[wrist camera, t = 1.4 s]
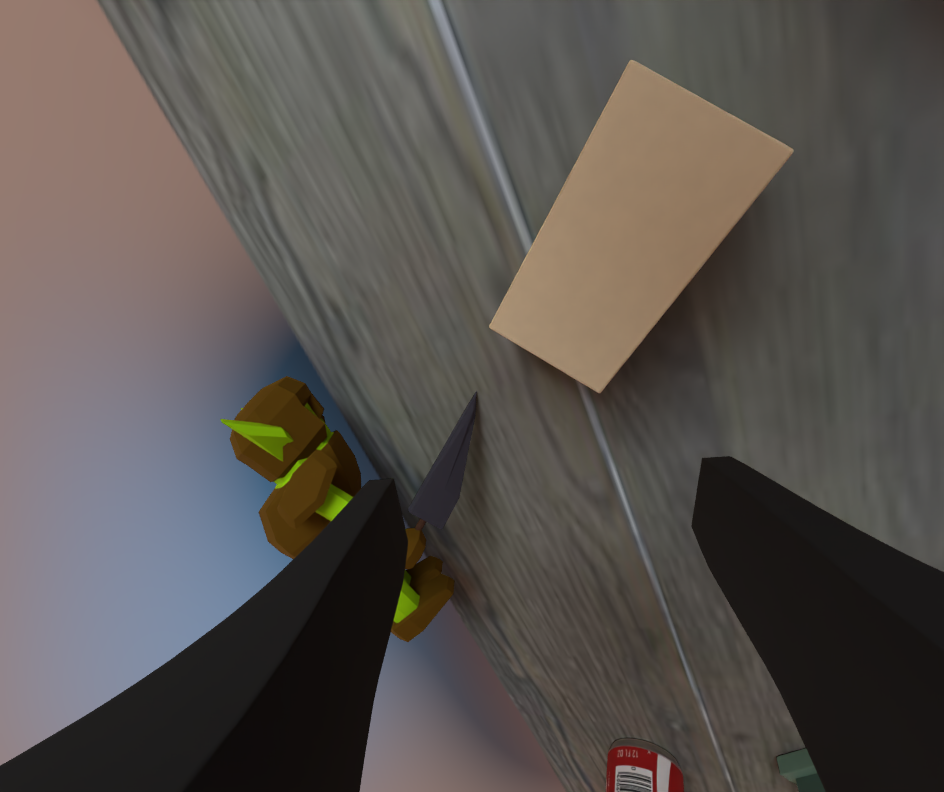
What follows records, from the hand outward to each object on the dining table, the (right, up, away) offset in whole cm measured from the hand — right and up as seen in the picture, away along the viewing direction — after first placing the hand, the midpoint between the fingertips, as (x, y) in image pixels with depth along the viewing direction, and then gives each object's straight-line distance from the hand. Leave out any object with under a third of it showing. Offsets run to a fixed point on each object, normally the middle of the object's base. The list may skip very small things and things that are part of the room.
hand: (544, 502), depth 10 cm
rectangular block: (+4, +8, +6) cm, 11 cm away
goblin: (-3, -7, +16) cm, 18 cm away
